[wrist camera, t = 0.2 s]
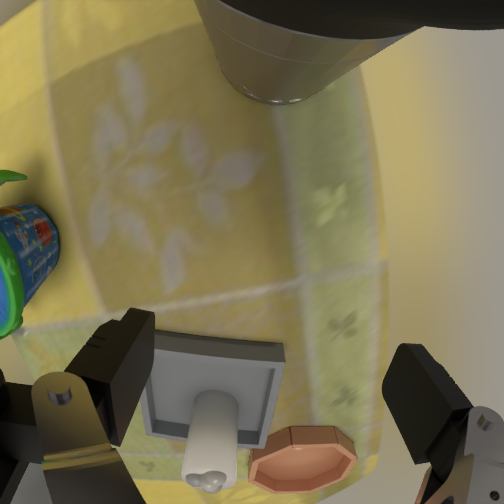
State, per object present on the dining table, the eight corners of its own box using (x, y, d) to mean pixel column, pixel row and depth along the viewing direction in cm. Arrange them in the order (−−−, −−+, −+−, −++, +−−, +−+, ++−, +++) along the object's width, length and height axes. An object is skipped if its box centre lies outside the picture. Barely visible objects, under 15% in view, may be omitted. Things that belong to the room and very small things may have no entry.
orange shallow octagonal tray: (256, 425, 35) (256, 443, 32) (362, 424, 35) (368, 440, 33) (245, 477, 39) (245, 492, 37) (333, 476, 40) (336, 490, 37)
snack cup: (63, 321, 30) (17, 378, 20) (-4, 280, 28) (-57, 322, 19) (93, 185, 25) (23, 212, 16) (13, 150, 24) (-60, 164, 14)
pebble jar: (193, 387, 32) (177, 475, 21) (240, 392, 32) (238, 482, 21) (193, 416, 33) (180, 498, 22) (236, 421, 33) (233, 503, 23)
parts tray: (141, 327, 30) (132, 345, 27) (282, 343, 30) (285, 362, 28) (151, 417, 35) (146, 435, 32) (263, 430, 35) (264, 448, 32)
